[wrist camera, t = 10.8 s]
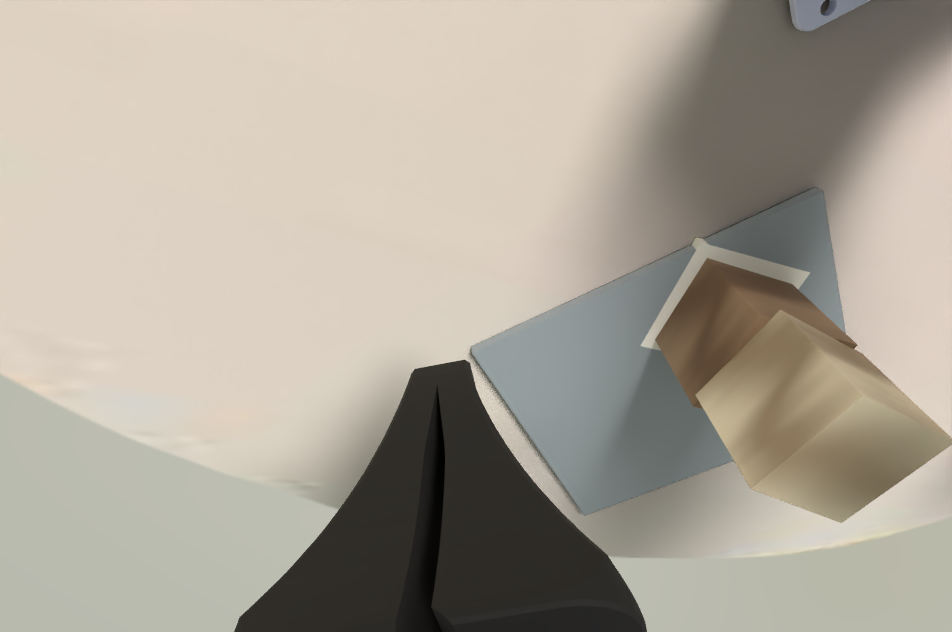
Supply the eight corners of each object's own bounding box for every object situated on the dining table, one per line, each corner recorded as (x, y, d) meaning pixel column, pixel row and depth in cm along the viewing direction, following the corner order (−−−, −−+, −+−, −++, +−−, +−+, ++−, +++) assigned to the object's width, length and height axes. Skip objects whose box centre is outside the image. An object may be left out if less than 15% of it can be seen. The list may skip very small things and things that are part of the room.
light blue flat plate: (814, 181, 22) (822, 186, 22) (852, 407, 30) (858, 414, 29) (468, 343, 26) (469, 349, 25) (582, 508, 33) (584, 515, 33)
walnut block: (707, 257, 23) (759, 317, 20) (792, 284, 24) (857, 344, 21) (655, 339, 26) (693, 406, 22) (734, 360, 27) (784, 427, 23)
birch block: (780, 309, 19) (863, 395, 16) (861, 353, 21) (955, 441, 17) (695, 394, 21) (750, 489, 18) (774, 429, 23) (841, 523, 19)
